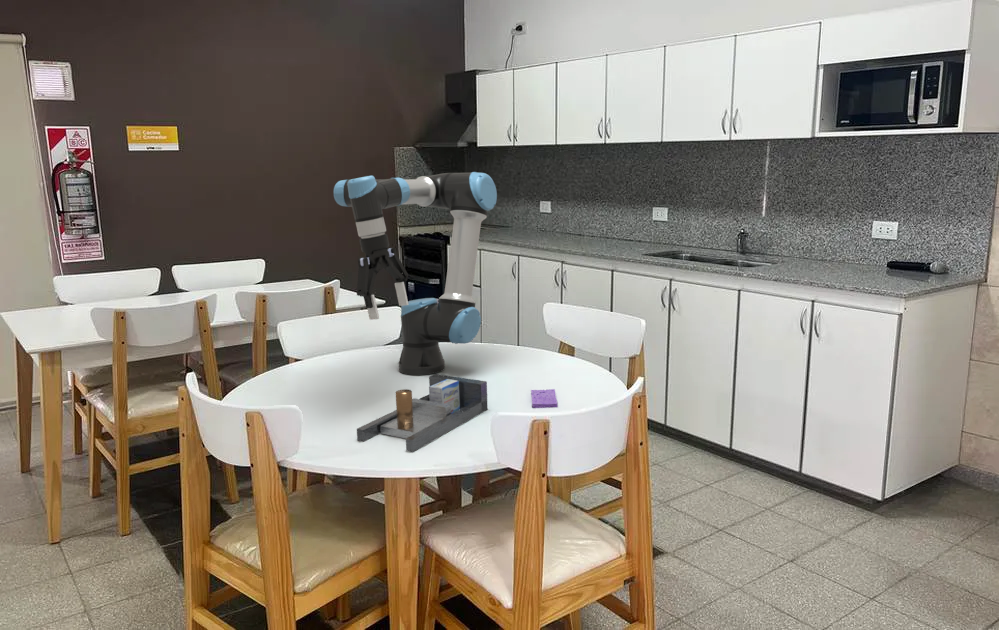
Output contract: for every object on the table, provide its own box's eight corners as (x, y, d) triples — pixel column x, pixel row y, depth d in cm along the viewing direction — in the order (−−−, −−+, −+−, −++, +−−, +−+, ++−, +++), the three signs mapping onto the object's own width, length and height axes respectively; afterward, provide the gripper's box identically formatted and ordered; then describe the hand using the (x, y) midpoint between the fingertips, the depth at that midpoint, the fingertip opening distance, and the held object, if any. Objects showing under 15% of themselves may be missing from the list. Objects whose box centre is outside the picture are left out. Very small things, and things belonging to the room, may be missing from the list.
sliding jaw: (380, 433, 190) (378, 391, 187) (414, 416, 202) (412, 376, 199) (419, 441, 184) (417, 397, 182) (451, 423, 196) (450, 382, 194)
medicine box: (443, 419, 199) (442, 388, 198) (429, 417, 202) (428, 385, 200) (460, 411, 206) (459, 380, 204) (447, 408, 208) (445, 378, 206)
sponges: (555, 395, 219) (554, 388, 218) (557, 409, 207) (557, 402, 206) (530, 395, 219) (530, 389, 219) (532, 409, 207) (532, 403, 206)
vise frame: (357, 440, 186) (355, 409, 184) (436, 401, 215) (435, 373, 213) (413, 452, 178) (411, 419, 176) (487, 409, 206) (486, 381, 205)
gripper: (389, 228, 213) (404, 300, 218) (331, 246, 192) (350, 325, 197) (410, 225, 209) (426, 299, 214) (354, 243, 188) (372, 324, 193)
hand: (389, 312), depth 205 cm, fingers open, 13 cm apart
